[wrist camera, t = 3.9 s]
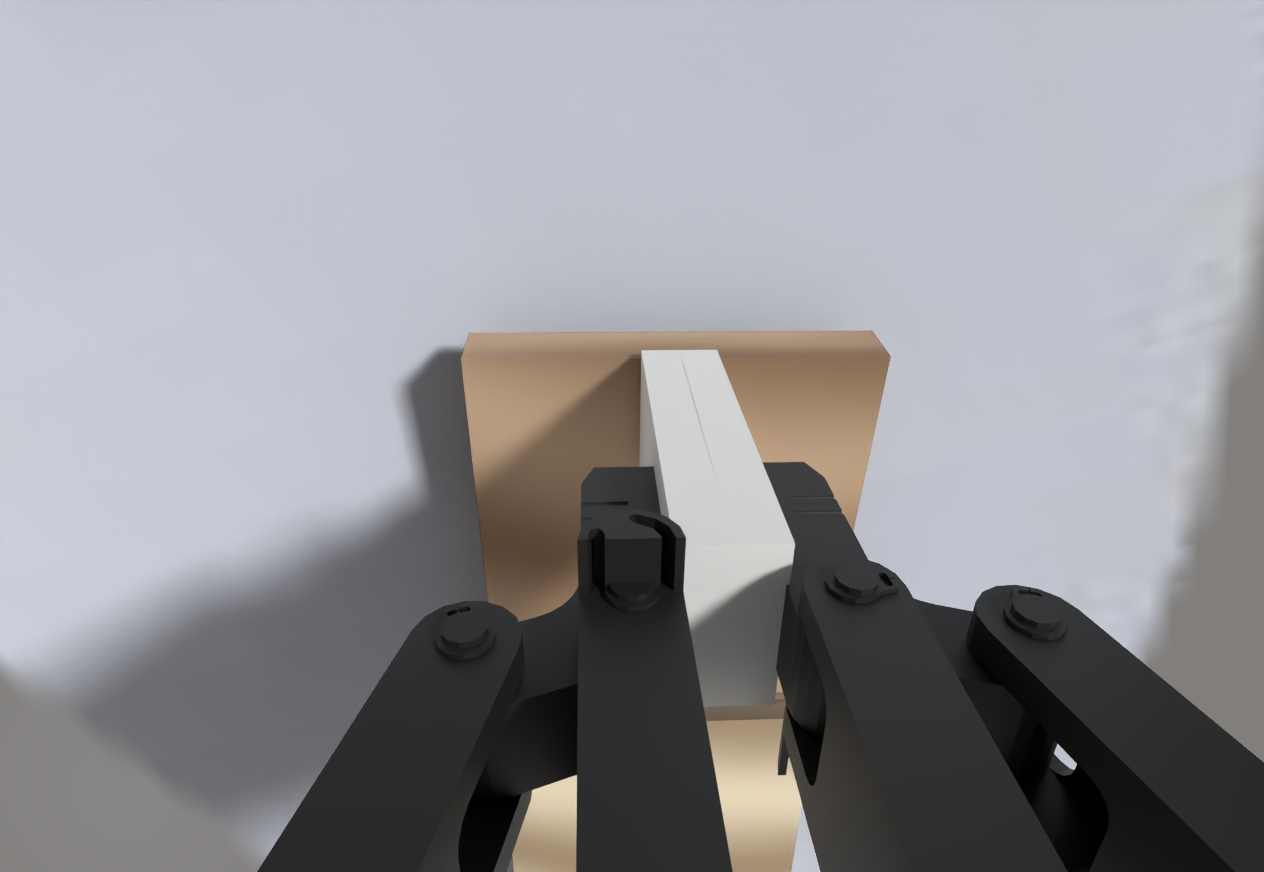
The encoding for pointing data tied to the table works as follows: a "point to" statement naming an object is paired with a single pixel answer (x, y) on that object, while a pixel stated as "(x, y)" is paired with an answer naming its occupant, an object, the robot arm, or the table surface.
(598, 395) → the plank
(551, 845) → the floorboard
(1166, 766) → the robot arm
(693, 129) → the table surface
